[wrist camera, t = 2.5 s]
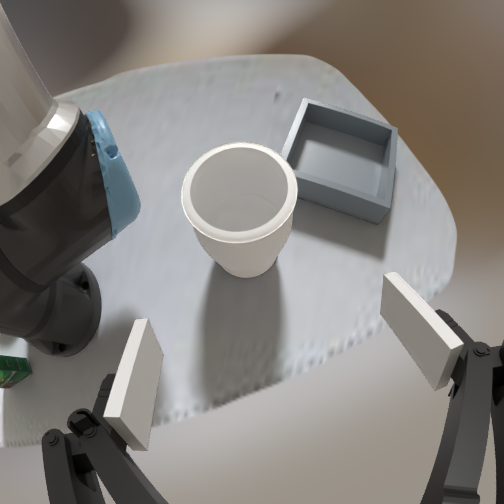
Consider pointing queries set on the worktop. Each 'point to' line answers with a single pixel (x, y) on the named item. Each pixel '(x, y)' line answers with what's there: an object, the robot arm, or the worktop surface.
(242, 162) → the white tapered cylinder
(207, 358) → the worktop surface
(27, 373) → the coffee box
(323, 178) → the bin
